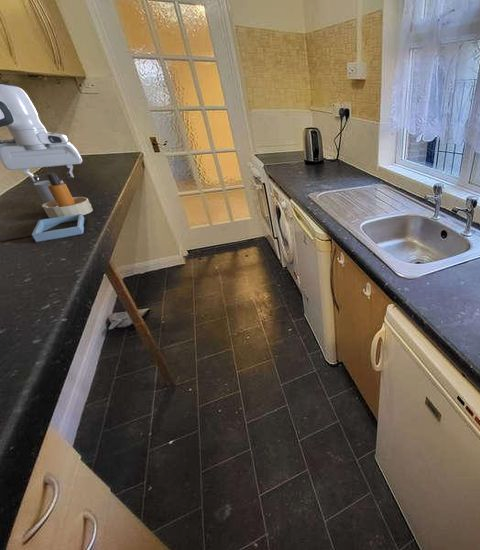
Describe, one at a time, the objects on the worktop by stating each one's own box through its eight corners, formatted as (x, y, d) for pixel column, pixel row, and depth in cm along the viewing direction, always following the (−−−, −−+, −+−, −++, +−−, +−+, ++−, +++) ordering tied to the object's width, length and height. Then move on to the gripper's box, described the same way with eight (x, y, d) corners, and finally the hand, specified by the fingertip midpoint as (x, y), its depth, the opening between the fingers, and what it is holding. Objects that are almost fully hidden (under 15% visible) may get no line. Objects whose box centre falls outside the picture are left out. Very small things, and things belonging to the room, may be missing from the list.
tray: (36, 242, 94) (31, 234, 93) (42, 226, 104) (38, 219, 103) (83, 233, 100) (79, 226, 99) (85, 220, 110) (81, 213, 109)
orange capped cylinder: (62, 216, 112) (40, 175, 104) (63, 212, 115) (42, 172, 107) (79, 213, 114) (59, 173, 107) (80, 210, 118) (60, 171, 110)
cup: (65, 209, 119) (52, 184, 114) (42, 210, 118) (27, 185, 113) (79, 203, 127) (67, 179, 121) (57, 203, 125) (44, 180, 120)
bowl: (46, 223, 107) (39, 210, 105) (51, 213, 116) (44, 200, 113) (93, 216, 114) (87, 203, 112) (94, 207, 123) (88, 195, 120)
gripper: (-15, 141, 93) (12, 185, 101) (70, 137, 104) (89, 177, 111) (-10, 139, 98) (16, 181, 105) (71, 135, 108) (89, 173, 116)
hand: (54, 179), depth 108 cm, fingers open, 8 cm apart
